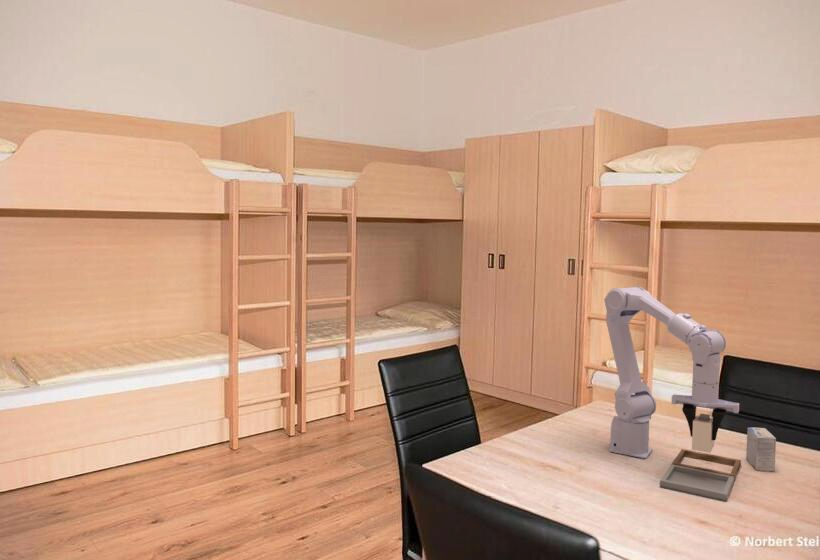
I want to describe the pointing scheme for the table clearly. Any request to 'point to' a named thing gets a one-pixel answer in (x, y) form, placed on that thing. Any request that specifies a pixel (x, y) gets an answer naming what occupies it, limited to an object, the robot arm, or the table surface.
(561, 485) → the table surface
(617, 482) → the table surface
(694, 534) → the table surface
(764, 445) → the medicine box
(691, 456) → the frame
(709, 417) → the plug block
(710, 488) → the lower tray
